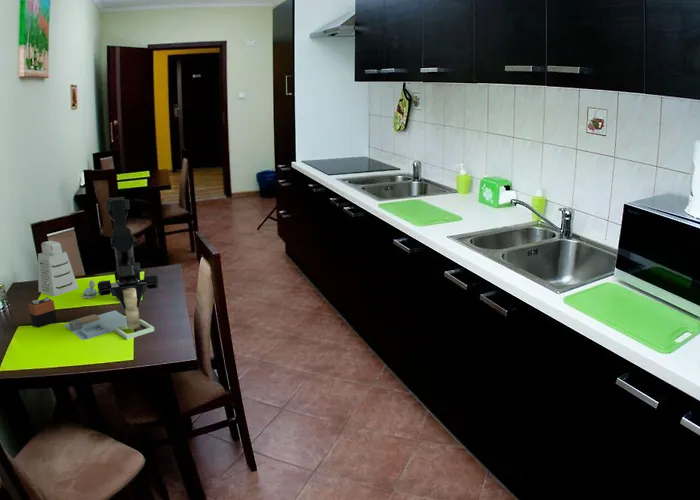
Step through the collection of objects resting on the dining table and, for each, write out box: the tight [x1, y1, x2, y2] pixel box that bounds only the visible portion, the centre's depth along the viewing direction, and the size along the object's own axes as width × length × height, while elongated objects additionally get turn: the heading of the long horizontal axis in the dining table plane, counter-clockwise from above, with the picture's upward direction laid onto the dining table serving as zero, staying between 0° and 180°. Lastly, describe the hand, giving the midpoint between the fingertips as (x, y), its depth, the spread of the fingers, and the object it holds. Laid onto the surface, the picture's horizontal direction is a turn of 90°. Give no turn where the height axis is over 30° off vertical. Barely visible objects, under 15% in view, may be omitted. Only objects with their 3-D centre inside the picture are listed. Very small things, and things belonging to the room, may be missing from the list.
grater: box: [37, 240, 79, 297], centre depth 233 cm, size 10×10×20 cm
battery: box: [28, 297, 58, 328], centre depth 201 cm, size 4×7×10 cm, turn 140°
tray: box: [114, 318, 155, 340], centre depth 195 cm, size 9×9×2 cm
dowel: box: [123, 288, 141, 330], centre depth 193 cm, size 4×4×13 cm
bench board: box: [63, 309, 127, 341], centre depth 200 cm, size 18×17×4 cm
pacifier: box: [81, 279, 99, 299], centre depth 229 cm, size 7×6×6 cm
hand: (131, 308), depth 191 cm, fingers closed on dowel, 4 cm apart
